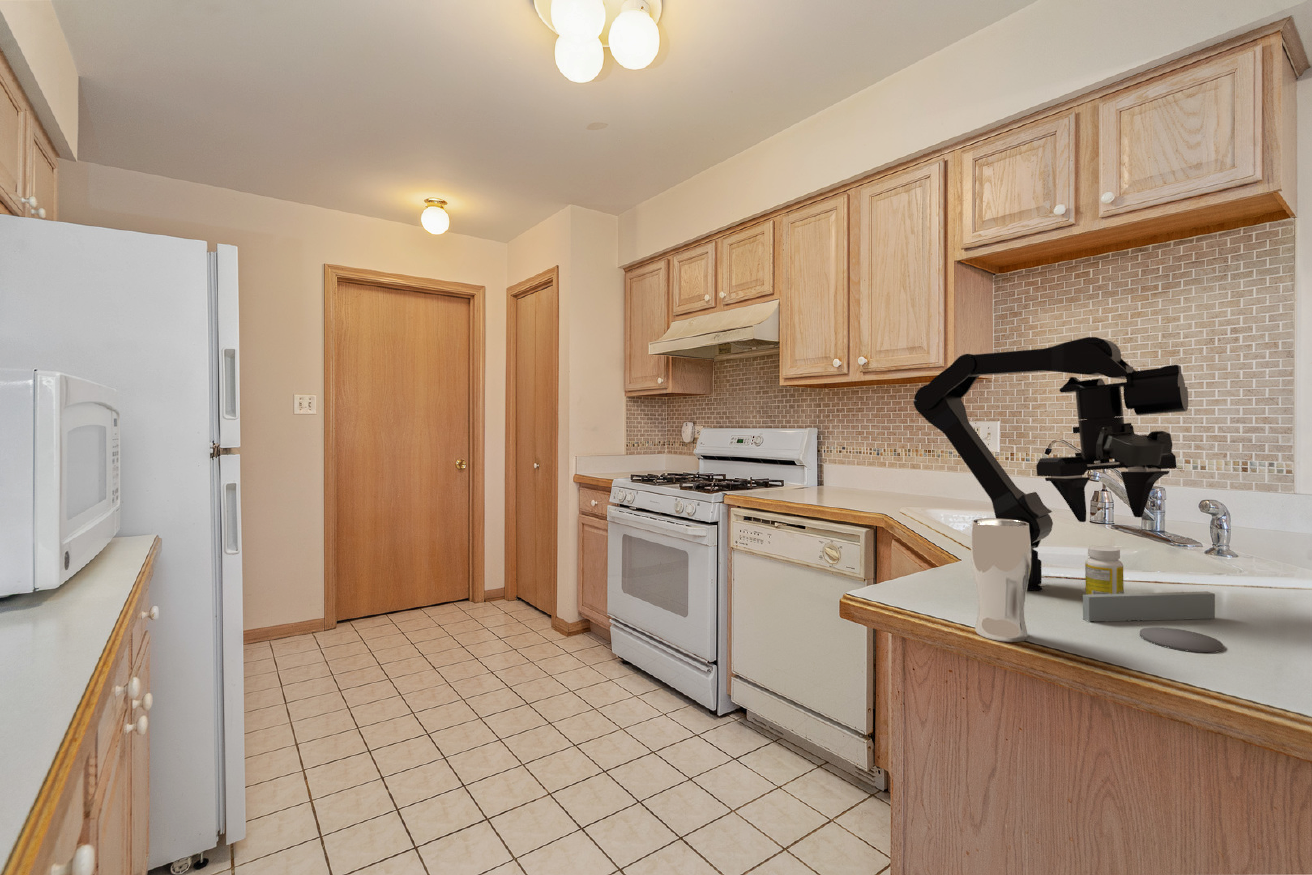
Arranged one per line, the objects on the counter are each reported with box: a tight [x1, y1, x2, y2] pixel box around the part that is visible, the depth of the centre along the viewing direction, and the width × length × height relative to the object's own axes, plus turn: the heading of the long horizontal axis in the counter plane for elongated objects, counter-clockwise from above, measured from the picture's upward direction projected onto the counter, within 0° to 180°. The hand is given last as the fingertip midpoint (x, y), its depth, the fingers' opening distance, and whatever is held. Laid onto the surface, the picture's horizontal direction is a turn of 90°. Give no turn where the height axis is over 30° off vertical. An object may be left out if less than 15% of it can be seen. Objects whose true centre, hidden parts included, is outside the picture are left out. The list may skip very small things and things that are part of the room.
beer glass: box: [970, 517, 1031, 643], centre depth 81 cm, size 7×7×15 cm
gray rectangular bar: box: [1082, 591, 1216, 622], centre depth 86 cm, size 18×1×4 cm, turn 91°
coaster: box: [1139, 626, 1224, 653], centre depth 78 cm, size 8×8×1 cm
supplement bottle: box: [1084, 545, 1125, 595], centre depth 94 cm, size 5×5×8 cm
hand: (1110, 519), depth 94 cm, fingers open, 9 cm apart
